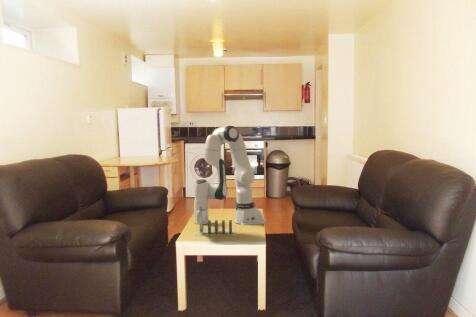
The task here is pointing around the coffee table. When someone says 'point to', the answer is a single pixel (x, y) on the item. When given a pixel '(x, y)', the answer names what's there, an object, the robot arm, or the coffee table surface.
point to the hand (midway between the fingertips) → (201, 226)
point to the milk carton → (196, 216)
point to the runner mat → (214, 233)
